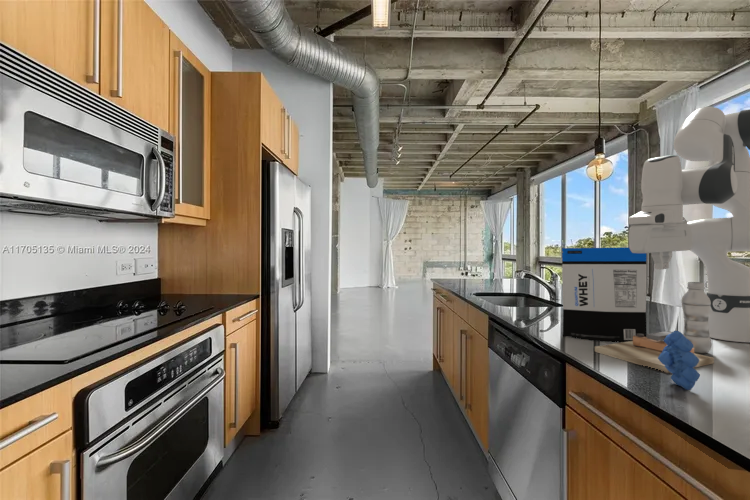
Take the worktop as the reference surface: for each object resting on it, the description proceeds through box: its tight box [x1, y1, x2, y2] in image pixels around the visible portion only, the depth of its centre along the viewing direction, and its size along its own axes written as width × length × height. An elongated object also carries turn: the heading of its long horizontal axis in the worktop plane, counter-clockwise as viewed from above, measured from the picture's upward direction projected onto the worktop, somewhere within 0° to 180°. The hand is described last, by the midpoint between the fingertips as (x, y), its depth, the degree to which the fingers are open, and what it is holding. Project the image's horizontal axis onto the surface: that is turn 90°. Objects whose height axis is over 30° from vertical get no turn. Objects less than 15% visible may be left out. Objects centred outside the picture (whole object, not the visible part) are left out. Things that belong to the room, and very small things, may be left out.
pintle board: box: [594, 330, 715, 374], centre depth 106 cm, size 18×20×6 cm
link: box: [633, 336, 694, 353], centre depth 107 cm, size 15×4×2 cm, turn 22°
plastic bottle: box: [680, 281, 713, 354], centre depth 110 cm, size 6×7×20 cm
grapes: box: [658, 330, 701, 391], centre depth 86 cm, size 12×7×12 cm, turn 166°
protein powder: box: [561, 247, 648, 343], centre depth 127 cm, size 10×24×30 cm, turn 71°
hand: (661, 269), depth 103 cm, fingers closed
